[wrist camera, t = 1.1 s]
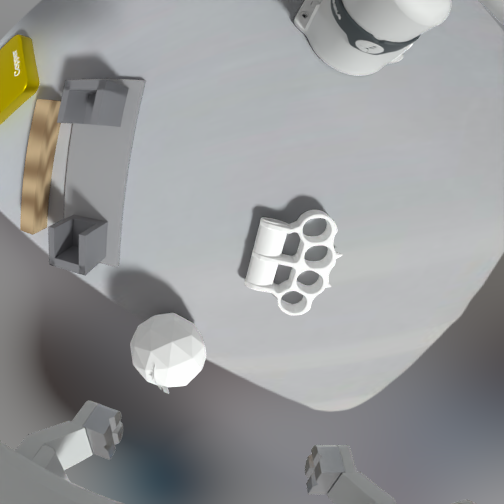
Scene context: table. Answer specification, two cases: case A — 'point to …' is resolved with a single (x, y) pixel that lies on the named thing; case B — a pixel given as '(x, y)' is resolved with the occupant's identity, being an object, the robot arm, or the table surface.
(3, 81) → the element tile
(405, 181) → the table surface
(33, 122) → the oak slat
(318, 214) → the knuckle duster
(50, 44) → the table surface
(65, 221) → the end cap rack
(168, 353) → the geodesic sphere
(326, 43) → the robot arm
